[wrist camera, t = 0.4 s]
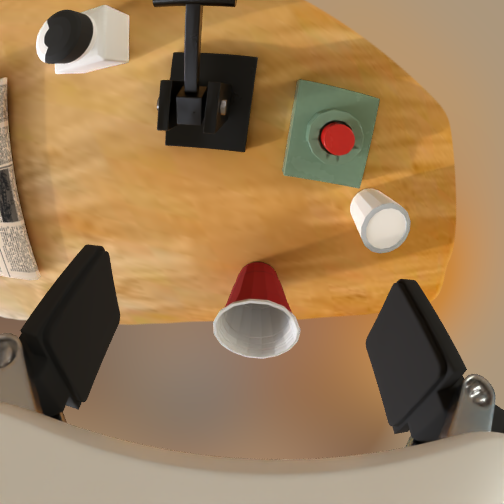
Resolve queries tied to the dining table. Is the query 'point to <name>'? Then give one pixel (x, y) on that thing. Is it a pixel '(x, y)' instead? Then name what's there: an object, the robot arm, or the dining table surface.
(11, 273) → the newspaper
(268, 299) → the plastic cup
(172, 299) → the dining table surface
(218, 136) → the bracket
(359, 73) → the dining table surface
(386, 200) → the white cup
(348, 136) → the button
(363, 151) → the button box
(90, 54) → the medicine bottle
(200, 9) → the lever
